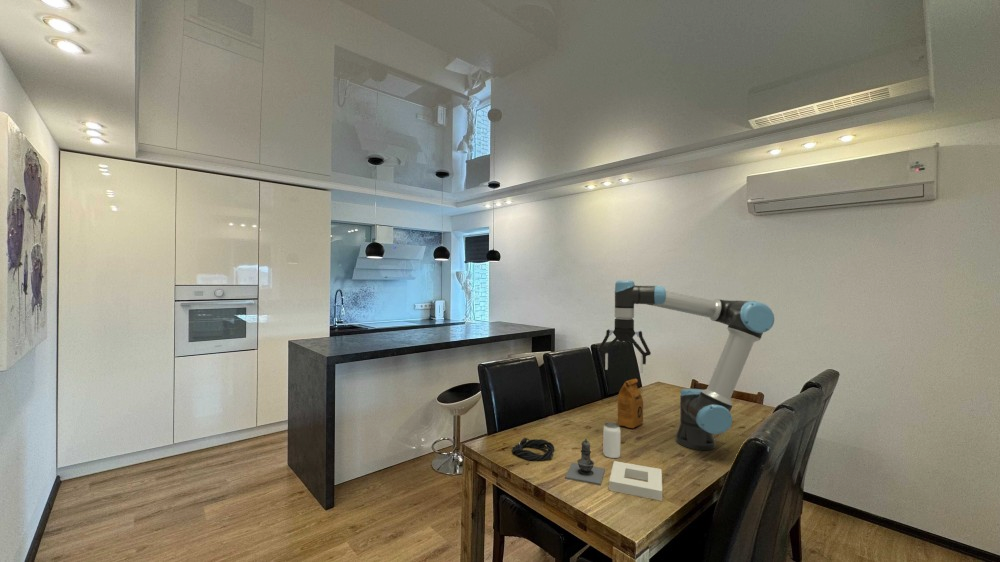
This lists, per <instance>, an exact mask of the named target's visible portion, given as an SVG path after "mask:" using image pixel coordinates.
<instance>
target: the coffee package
mask: <svg viewBox="0 0 1000 562" xmlns="http://www.w3.org/2000/svg"><path fill="white" fill-rule="evenodd" d="M638 382H639V381H638V379H637V378H632V379H629V380H626V381H624V383H623V385H622V386H621V388H620V390H619V392H618V399H617V424H618V425H619V427H626V428H628V429H634V428H635V427H638V426H641V425H642V424H644V399H643V396H642V394H641V392H640V390H639V389H638V385H637V383H638Z"/></svg>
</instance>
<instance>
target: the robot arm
mask: <svg viewBox="0 0 1000 562" xmlns="http://www.w3.org/2000/svg"><path fill="white" fill-rule="evenodd" d="M635 305H649V306H654V307H658V308H662V309H667V310H670V311H672V310H673V311H677V312H681V313H685V314H689V315H690V314H691V315H696V316H701V317H704V318H709V319H710V320H711V321H712V322H716V323H721V324H723V325H726V326H727V328H726V329H727V331H728V332H729V334H728V337H727V340H726V341H725V344H724V347H723V348H722V351H721V354H720V355H719V356H720V357H719V359H718V361H717V363H716V366H715V368H714V371H713V373H712V375H711V378H710V380H709V383H708V386H707V387H706V389H699V388H682V389H681V390H680V395H679V398H680V401H679V402H680V405H679V407H680V413H679V415H680V416H679V417H680V423H679V426H678V428H677V431H676V433H675V441H676V443H678V444H679V445H681V446H682V447H685V448H687V449H688V448H689V449H692V450H698V451H711V450H714V449H715V448H716V440H715V436H714V435H721V434H724V433H725V432H727V431H728V430H729V429H730V428H731V427H732V424H733V417H732V412H731V410H732V408H733V406H734V405H733V402H732V400H731V398H732V395H733V393H734V391H735V389H736V386H737V383H738V382H739V378H740V377H741V374H742V373H743V372H742V371H743V370H744V367H745V365H746V363H747V361H748V358H749V355H750V352H751V351H752V348H753V345H754V343H755V342H759V341H761V338H762V336H763V334H764V333H766V332H768V331H770V330H771V329H772V328H773V326H774V324H775V314H774V313H773V311H772V309H771V308H770V307H769V306H768V305H767V304H765V303H763V302H760V301H755V300H727V299H725V300H724V299H719V298H716V299H714V300H713V299H707V298H702V297H697V296H693V295H687V294H683V293H678V292H673V291H670V290H669V291H668V290H666V288H665V287H664V286H662V285H635V281H634V280H617V281H616V282H615V287H614V317H615V319H614V329H613V330H612V329H610V328H609V329H608V328H607V330H606V332H605V336H604V339H603V340H602V341H601V344H600V346H599V347H598V349H597V351H598V352H599V353H601V354H602V362H605V365H604V366H605V367H604V370H606V371H608V368H609V353H608V351H609V350H610V349H611V348H612V346H613V345H614V344H615V343H616V342H617V341H619V342H625V343H628V342H631V344H632V345H633V346H634V347H635V348H636V350H637V351H638V352H639V353H640V373H641V374H643V372H644V366H643V365H646V364H647V356H651V355H652V353H651V350H650V348H649V346H648V344H647V342H646V340H645V339H644V336H643V331H642V330H639V331H635V319H634V317H635ZM612 334H613V335H614V336H615V338H613V340H612V341H611V342H610V343H609V344H608V345H606V343H607V341H608V339H609V337H610V336H612ZM635 335H636V336H637V337H638V338H639V341H640V342H641V344H642V346H643V348H644V349H643V348H642V347H641V346H640V344H639V343H637V341H636V340H635V339H634V336H635ZM605 346H606V347H605ZM604 347H605V348H604ZM603 348H604V349H603ZM644 350H645V351H644Z"/></svg>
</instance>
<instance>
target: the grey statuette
mask: <svg viewBox="0 0 1000 562" xmlns="http://www.w3.org/2000/svg"><path fill="white" fill-rule="evenodd" d="M580 453H581V457H580V458H579V459H577V460H576V461H577V462H576V463H578V465H579V468H580V469H579V470H578V473H579V474H581V475H583V476H591V475H593V471H591V469H592V468H593V466H594V465H595V462H594V461H593V460H592V459H591V453H592V450H591V443H590V441H588V440H587V438H584V440H583V441H581V449H580Z"/></svg>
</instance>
